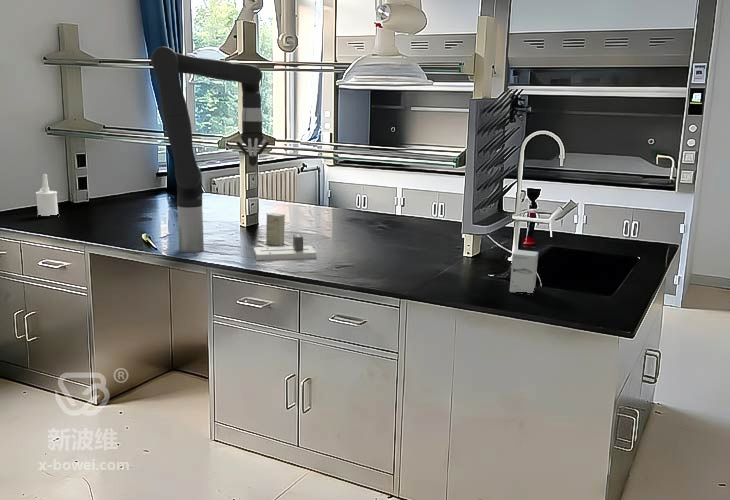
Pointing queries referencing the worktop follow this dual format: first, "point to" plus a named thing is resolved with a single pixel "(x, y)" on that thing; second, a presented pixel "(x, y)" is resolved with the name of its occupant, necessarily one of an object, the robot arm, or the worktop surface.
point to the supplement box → (523, 271)
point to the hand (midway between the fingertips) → (252, 165)
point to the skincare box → (275, 229)
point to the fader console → (283, 253)
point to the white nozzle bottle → (46, 199)
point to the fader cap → (298, 242)
